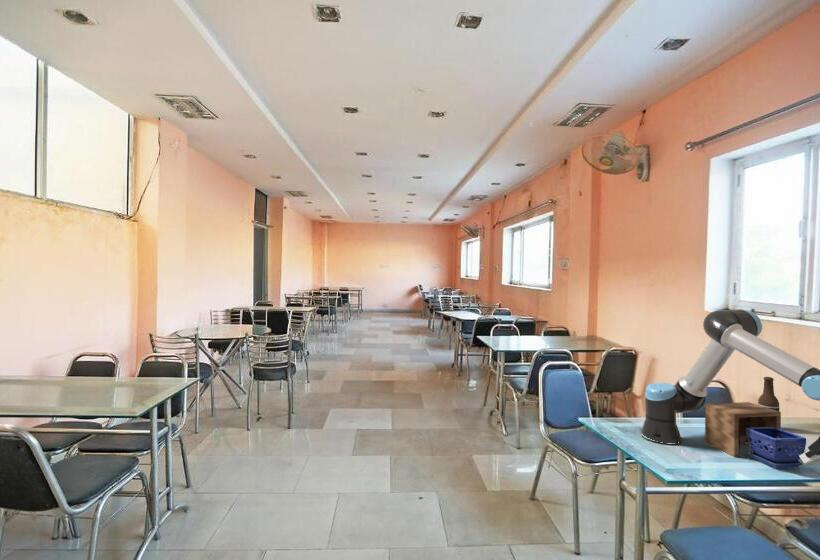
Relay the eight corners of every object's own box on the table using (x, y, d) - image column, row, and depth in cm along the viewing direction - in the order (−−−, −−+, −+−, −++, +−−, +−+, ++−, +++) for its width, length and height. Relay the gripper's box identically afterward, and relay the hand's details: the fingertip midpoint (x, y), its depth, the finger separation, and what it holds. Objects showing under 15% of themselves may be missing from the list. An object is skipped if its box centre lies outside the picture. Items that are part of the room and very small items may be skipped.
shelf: (780, 454, 171) (780, 412, 171) (734, 457, 168) (734, 413, 168) (748, 441, 185) (748, 402, 185) (705, 443, 182) (705, 403, 182)
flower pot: (743, 457, 168) (743, 426, 168) (774, 455, 170) (774, 425, 170) (775, 472, 155) (775, 439, 155) (808, 470, 156) (808, 438, 156)
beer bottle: (784, 431, 197) (784, 379, 198) (767, 431, 198) (767, 379, 198) (770, 425, 205) (770, 375, 205) (753, 425, 205) (753, 375, 205)
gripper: (849, 440, 132) (794, 471, 149) (885, 438, 134) (827, 469, 150) (830, 418, 137) (779, 450, 154) (865, 416, 139) (811, 448, 155)
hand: (803, 459), depth 152 cm, fingers closed
